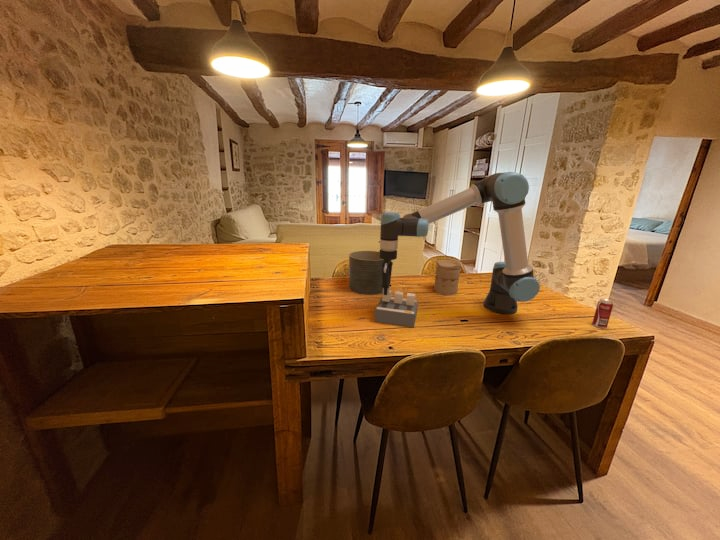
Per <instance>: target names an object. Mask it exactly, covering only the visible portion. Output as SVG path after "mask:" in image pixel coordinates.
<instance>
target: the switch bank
mask: <svg viewBox="0 0 720 540" xmlns="http://www.w3.org/2000/svg"><path fill="white" fill-rule="evenodd" d="M406 299H407V298H403V302H402V304H397V303H394V296H391V300H390V302H386V301H382V297H380V300H379V301H378V303H377V304H376V307H375V309H374V323H379V324H385V325H392V326H400V327H406V328H415V324H416V319H417V315H418V308H419V300H417V299H415V304H414V306H409V305H406Z"/></svg>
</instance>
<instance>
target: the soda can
mask: <svg viewBox="0 0 720 540" xmlns="http://www.w3.org/2000/svg"><path fill="white" fill-rule="evenodd" d="M613 303H614V302H613V301H612V300H608V299H606V298H605V299H604V298H600V299H599V300H598V301H597V305H596V306H595V307H596V309H595V312H594V315H593V319H592V322H591V324H592V326H593V327H595V328H598V329H607V327H608V324H609V321H610V317H611V314H612V310H613V307H614V305H613Z"/></svg>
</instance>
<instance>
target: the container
mask: <svg viewBox="0 0 720 540" xmlns="http://www.w3.org/2000/svg"><path fill="white" fill-rule="evenodd" d="M461 267H462V263H461V262H460V261H457V260H453V259H448V258H447V259H438V260H437V261H436V269H435V277H434V286H433V287H434V292H435V293H437V294H439V295H443V296H456V295H457V294H458V290H459V281H460V276H461Z"/></svg>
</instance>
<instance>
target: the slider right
mask: <svg viewBox="0 0 720 540" xmlns="http://www.w3.org/2000/svg"><path fill="white" fill-rule="evenodd" d="M405 299H406V305H409V306H414V304H415V300H416V293H410V292H407V293H406V298H405Z"/></svg>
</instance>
